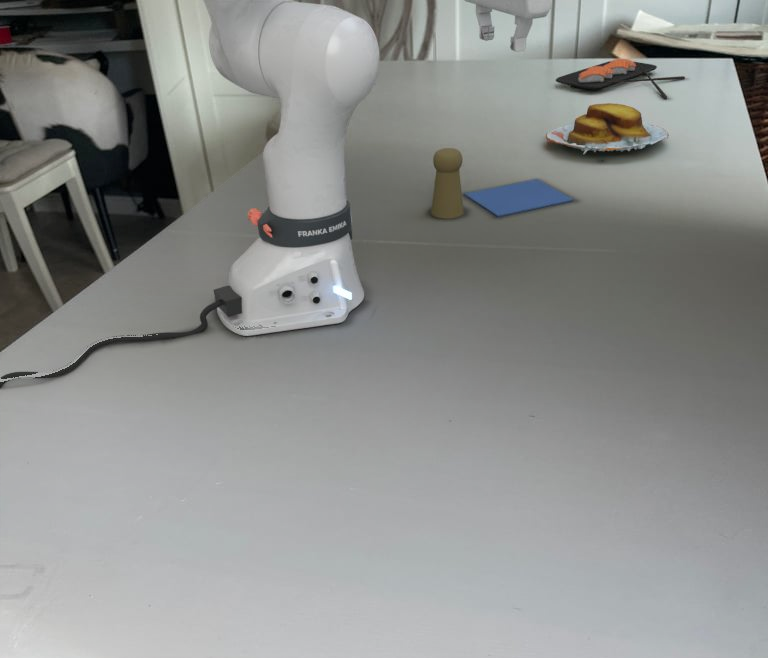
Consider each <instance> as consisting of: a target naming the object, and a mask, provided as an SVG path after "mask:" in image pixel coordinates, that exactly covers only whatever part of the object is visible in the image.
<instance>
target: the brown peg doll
mask: <svg viewBox="0 0 768 658" xmlns="http://www.w3.org/2000/svg"><path fill="white" fill-rule="evenodd" d="M432 164H433V167H434V169H435V178H434V187H433V193H432V201H431V202H432V204H431V211H430V215H432V216H433V217H435V218H437V219H443V220H444V219H445V220H446V219H448V220H449V219H456V218H459V217H461V216H463V215H464V214H465V212H464V211H465V209H464V202H463V192H462V184H461V175H460V173H461V172H460V169H461V168H462V166H463V154H462V152H461V151H460V149H457V148H454V147H445V148H444V147H443V148H440V149H437V150H436V151H435V152H434V154H433V158H432Z"/></svg>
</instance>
